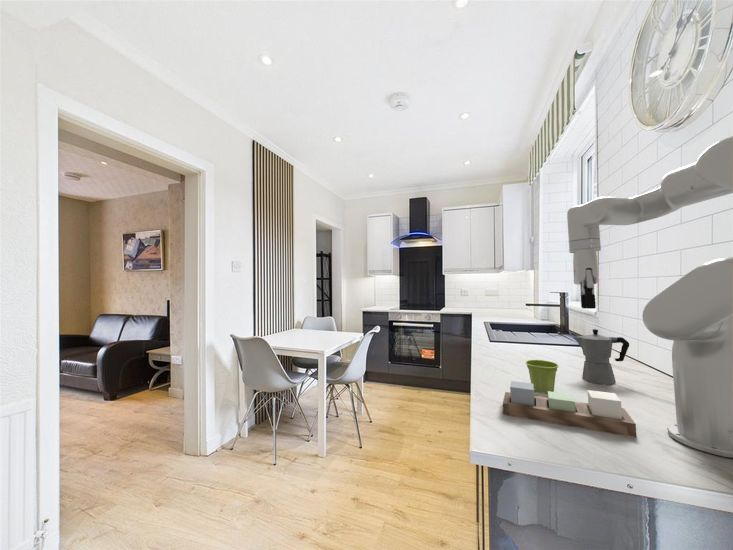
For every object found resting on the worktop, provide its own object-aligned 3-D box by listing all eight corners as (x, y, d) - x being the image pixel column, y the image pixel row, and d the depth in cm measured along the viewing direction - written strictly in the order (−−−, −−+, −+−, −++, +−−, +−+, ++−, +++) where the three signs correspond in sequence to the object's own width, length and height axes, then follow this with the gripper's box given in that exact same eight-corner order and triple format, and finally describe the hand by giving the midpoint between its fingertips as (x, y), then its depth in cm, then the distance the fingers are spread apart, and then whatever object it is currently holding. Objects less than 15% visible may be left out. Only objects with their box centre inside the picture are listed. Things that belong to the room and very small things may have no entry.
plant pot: (559, 387, 96) (557, 361, 96) (561, 397, 88) (559, 368, 88) (527, 383, 101) (525, 358, 101) (526, 392, 93) (524, 365, 93)
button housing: (624, 420, 72) (624, 408, 72) (636, 437, 64) (635, 424, 64) (505, 402, 85) (505, 391, 85) (503, 414, 77) (502, 403, 77)
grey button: (534, 401, 80) (533, 383, 80) (534, 409, 75) (533, 389, 76) (512, 398, 83) (511, 381, 83) (511, 405, 78) (510, 386, 78)
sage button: (573, 413, 76) (572, 394, 76) (576, 422, 71) (575, 401, 71) (548, 409, 78) (547, 391, 79) (549, 418, 74) (548, 398, 74)
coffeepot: (575, 381, 102) (572, 330, 102) (575, 374, 109) (572, 326, 110) (634, 389, 93) (630, 332, 94) (629, 380, 101) (625, 328, 101)
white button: (616, 413, 71) (615, 393, 72) (622, 423, 67) (621, 401, 67) (588, 409, 74) (587, 390, 74) (592, 418, 69) (591, 397, 70)
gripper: (566, 250, 95) (570, 306, 94) (572, 245, 82) (576, 310, 81) (595, 248, 91) (599, 306, 90) (606, 242, 78) (610, 310, 77)
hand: (588, 308), depth 85 cm, fingers closed
